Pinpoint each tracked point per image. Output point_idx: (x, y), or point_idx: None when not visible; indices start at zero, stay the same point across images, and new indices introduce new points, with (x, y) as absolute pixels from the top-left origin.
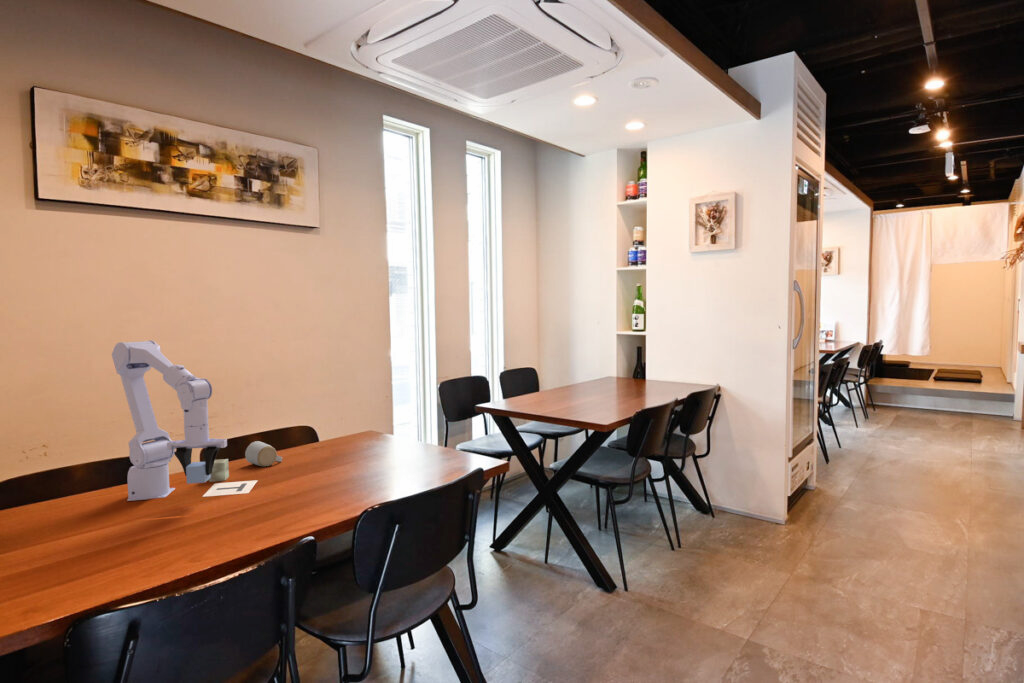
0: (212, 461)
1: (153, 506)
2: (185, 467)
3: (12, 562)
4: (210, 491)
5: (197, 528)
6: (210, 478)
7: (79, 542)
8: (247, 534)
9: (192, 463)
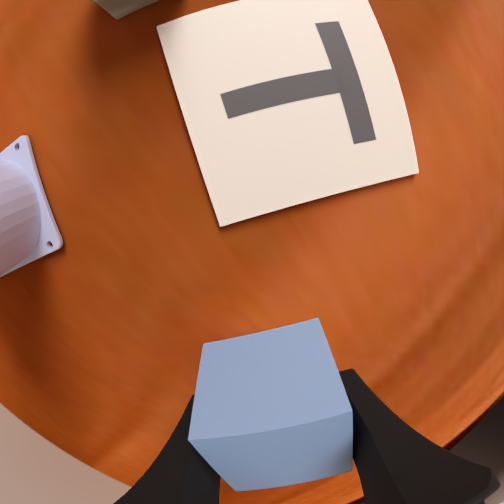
0: (388, 430)
1: (97, 321)
2: (217, 477)
3: None
4: (212, 144)
5: None
6: (113, 7)
7: None
8: (449, 414)
9: (217, 457)
